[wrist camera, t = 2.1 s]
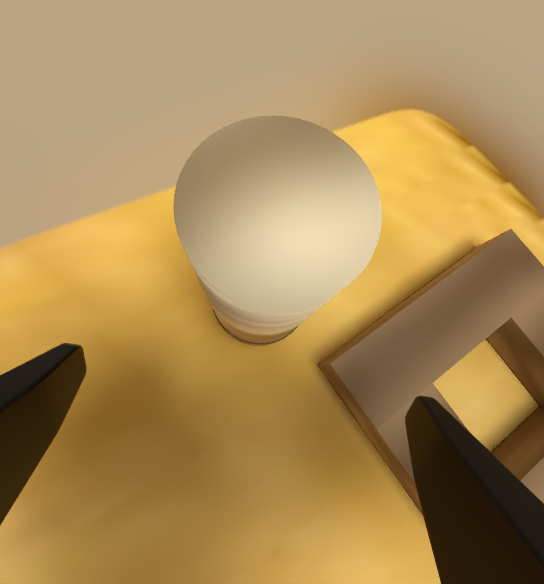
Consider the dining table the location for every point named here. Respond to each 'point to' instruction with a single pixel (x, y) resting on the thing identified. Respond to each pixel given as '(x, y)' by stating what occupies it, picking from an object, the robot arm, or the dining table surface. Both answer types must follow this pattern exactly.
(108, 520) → the dining table surface
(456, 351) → the board
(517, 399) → the dining table surface
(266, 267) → the peg
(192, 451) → the dining table surface
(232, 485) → the dining table surface
